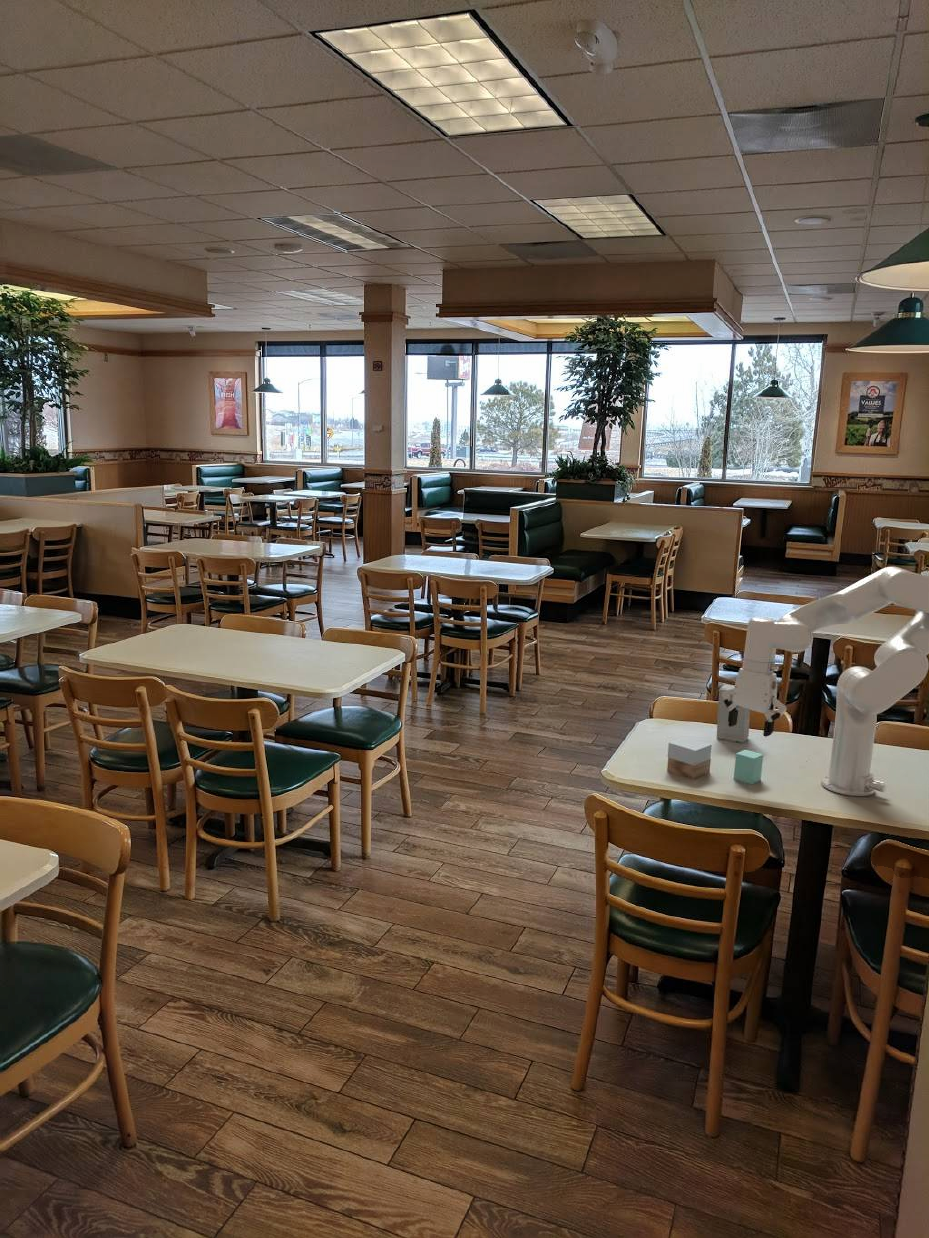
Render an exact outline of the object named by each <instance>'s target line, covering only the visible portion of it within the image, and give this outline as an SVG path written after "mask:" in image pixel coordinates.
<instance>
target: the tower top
mask: <svg viewBox="0 0 929 1238" xmlns="http://www.w3.org/2000/svg"><path fill="white" fill-rule="evenodd" d="M711 754H712V744H711V743H707V742H704V741H701V740H697V739H695V738H694V739H693V738H690V737H687V736H684V737H681V738H678V739H676V740H672V741H670V742H668V749H667V758H668V757H669V758H672V759H675V760H678V761H681V762H684V763H687V764H691V765H697V764H699V763H702V762H704V761H707V760H709V759H711V758H712V757H711Z"/></svg>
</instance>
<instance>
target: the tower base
mask: <svg viewBox="0 0 929 1238" xmlns="http://www.w3.org/2000/svg"><path fill="white" fill-rule="evenodd" d="M711 760H712V759H711V758H710V759H709V760H707V761H704V762H702V763H699V764H697V765H691V764H687V763H684V762H681V761H678V760H675V759H672V758H669V757H668V756H667V767H666V768H667V769H666V771H667V772H669V771H670V772H669V773H672V772H673V773H672V774H675V775H679V776H682V777H684V778H687V779H691V780H696V779H698V778H701V777H703V776H705V775H707V774H710V773H709V772H711V762H712V761H711Z"/></svg>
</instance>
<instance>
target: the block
mask: <svg viewBox="0 0 929 1238" xmlns="http://www.w3.org/2000/svg"><path fill="white" fill-rule="evenodd" d="M763 760H764V754H763V753H759V752H756V751H752V750H748V749H743V750H741V751H739V752H736V754H735V763H734V770H733V771H734V772H733V780H735V781H739V782H742V783H745V784H749V785H753V784H756V783H758V782H760V781H761V778H762V769H763Z"/></svg>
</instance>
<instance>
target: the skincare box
mask: <svg viewBox="0 0 929 1238" xmlns="http://www.w3.org/2000/svg"><path fill="white" fill-rule="evenodd" d="M734 686H735V685H733V684H732V685H730V684H723V685H722V686H721V687H720V688H719V689H718V702H717V703H718V705H717V725H716V739H717V738H719V739H718V740H723V739H724V741H728V742H729V741H730V742H736V741H738V742H737V743H743V744H744V742H745V741H746V740H747V739H748V738H749V733H750V720H751V719H750V717H751V716H750V715H751V710H750V709H746V708H742V707H738V708H737V710H738V717H737V724H736V725H734V726H731V727H730V726H728V725H729V722H728V716H729V711H728V709H727V706H726V705H725V703H724V699H723V696H722V692H723V691H727V690H731V689H734ZM729 697H730V699H731V701H732V702H733V694H730V695H729Z"/></svg>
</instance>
